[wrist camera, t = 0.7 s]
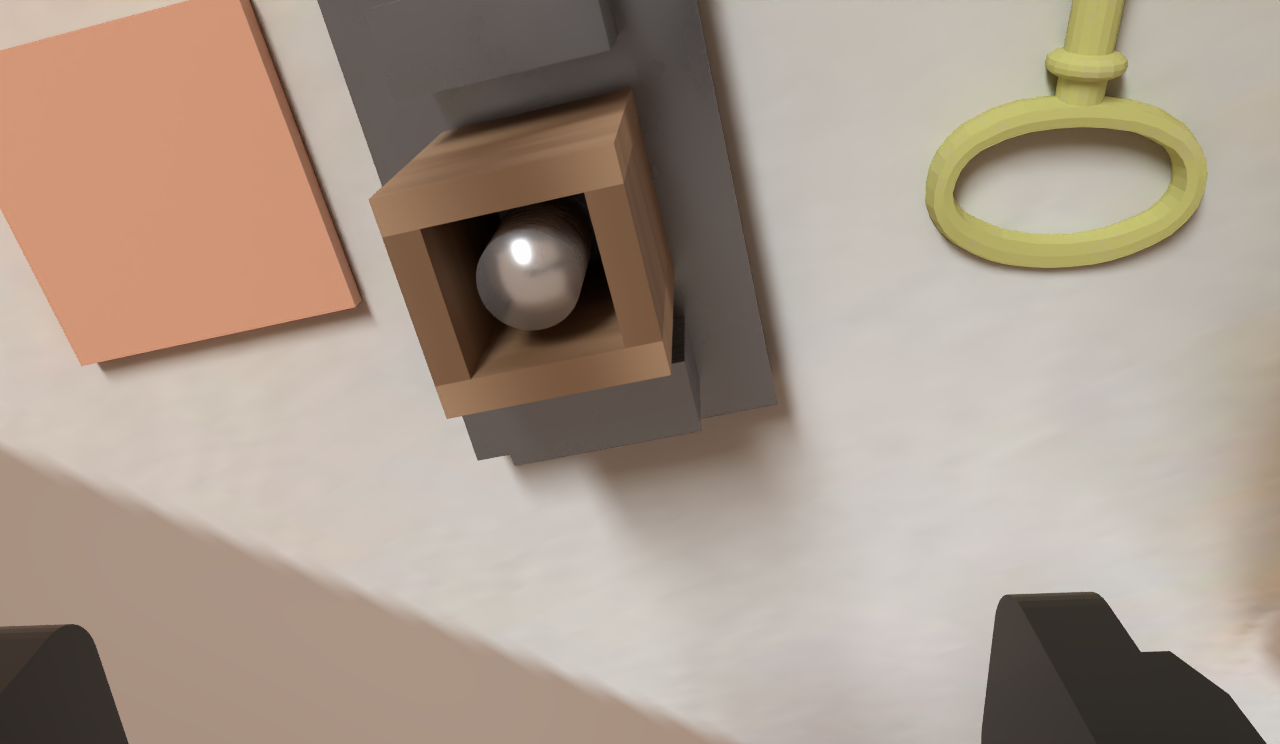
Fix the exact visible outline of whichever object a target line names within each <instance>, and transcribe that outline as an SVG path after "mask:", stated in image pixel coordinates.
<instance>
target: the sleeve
mask: <svg viewBox="0 0 1280 744" xmlns="http://www.w3.org/2000/svg"><path fill="white" fill-rule="evenodd" d="M579 193H584V194H585V198H586V202H587V206H588V210H589V213H590V217H591V221H592V225H593V228H594V232H595V236H596V240H597V244H598V247H599V251H600V255H601V259H600V260H595V261H590V262H589V263H588V266H587V270H586V274H585V277H584V281H583V284H582V288H581V291H580V295H579V298H578V301H577V303H576V305H575V307H574V309H573V310H572V311H571V313H570V314H569V315H568V316H567V317H566V318H565V319H564V320H562V321H561V322H559V323H558V324H556V325H554V326H552V327H549V328H546V329H542V330H522V329H517V328H514V327H511V326H509V325H507V324H505V323H503V322H501V321H500V320H498V319H497V318H496V317H495V316H493V315H492V314H491V313H490V312H489V310H488V309H487V308H486V307H485V305H484V304H483V302H482V300H481V298H480V295H479V293H478V289H477V284H476V271H477V266H478V263H479V260H480V258H481V256H482V254H483V252H484V250H485V249H486V247H487V245H488V244H489V242H490V240H491V239H492V237H493V235H494V234H495V232H496V230H497V229H498V227H499V225H500V223H501V220H500V217H499V213H498V212H499V211H503V210H508V209H512V208H516V207H521V206H525V205H530V204H534V203H539V202H543V201H548V200H552V199H557V198H561V197H566V196H570V195H575V194H579ZM369 202H370V205H371V207H372V210H373V213H374V216H375V219H376V221H377V224H378V227H379V230H380V233H381V235H382V238H383V241H384V244H385V247H386V249H387V252H388V255H389V258H390V261H391V263H392V266H393V269H394V272H395V275H396V278H397V280H398V283H399V286H400V289H401V292H402V294H403V297H404V300H405V303H406V306H407V308H408V311H409V314H410V317H411V320H412V322H413V325H414V328H415V331H416V334H417V336H418V339H419V342H420V345H421V348H422V350H423V353H424V356H425V359H426V362H427V365H428V367H429V370H430V373H431V376H432V379H433V381H434V384H435V387H436V390H437V393H438V395H439V398H440V401H441V404H442V407H443V409H444V412H445V415H446V418H447V419H449V418H454V417H459V416H464V415H469V414H474V413H479V412H484V411H489V410H495V409H500V408H505V407H510V406H515V405H520V404H525V403H530V402H536V401H541V400H546V399H551V398H556V397H561V396H566V395H571V394H576V393H582V392H587V391H592V390H597V389H602V388H607V387H612V386H617V385H622V384H628V383H633V382H638V381H643V380H648V379H653V378H658V377H663V376H669V375H671V360H672V331H673V303H674V274H675V272H674V268H673V264H672V260H671V255H670V251H669V247H668V242H667V238H666V234H665V230H664V225H663V221H662V217H661V212H660V208H659V204H658V200H657V195H656V191H655V187H654V183H653V178H652V174H651V170H650V165H649V161H648V157H647V153H646V148H645V144H644V140H643V135H642V131H641V127H640V123H639V118H638V114H637V110H636V106H635V101H634V97H633V93H632V88H627V89H622V90H618V91H614V92H610V93H605V94H601V95H597V96H593V97H589V98H584V99H580V100H576V101H572V102H567V103H563V104H559V105H555V106H551V107H546V108H542V109H538V110H534V111H530V112H525V113H521V114H517V115H513V116H508V117H504V118H500V119H496V120H492V121H487V122H483V123H479V124H475V125H470V126H466V127H462V128H458V129H454V130H449V131H445V132H442V133H441V134H440V135H439V136H438V137H436V138H435V139H434V140H433V141H432V142H431V143H430V144H429V145H428V146H427V147H425V148H424V149H423V150H422V151H421V152H420V153H419V154H418V155H417V156H416V157H415V158H413V159H412V160H411V161H410V162H409V163H408V164H407V165H406V166H405V167H404V168H403V169H401V170H400V171H399V172H398V173H397V174H396V175H395V176H394V177H393V178H392V179H390V180H389V181H388V182H387V183H386V184H385V185H384V186H383V187H382V188H381V189H380V190H378V191H377V192H376V193H375V194H374V195H373V196H372V197H371V198H370V199H369Z"/></svg>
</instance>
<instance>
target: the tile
mask: <svg viewBox="0 0 1280 744" xmlns="http://www.w3.org/2000/svg"><path fill="white" fill-rule="evenodd" d="M0 209H1V211H2V213H3V214H4V216H5V218H6V220H7V222H8V224H9V226H10V228H11V230H12V232H13V234H14V236H15V238H16V240H17V242H18V244H19V246H20V248H21V249H22V251H23V253H24V255H25V257H26V259H27V261H28V263H29V265H30V267H31V269H32V271H33V273H34V275H35V277H36V279H37V281H38V282H39V284H40V286H41V288H42V290H43V292H44V294H45V296H46V298H47V300H48V302H49V304H50V306H51V308H52V310H53V312H54V314H55V316H56V317H57V319H58V321H59V323H60V325H61V327H62V329H63V331H64V333H65V335H66V337H67V339H68V341H69V343H70V345H71V347H72V349H73V350H74V352H75V354H76V356H77V358H78V360H79V362H80V364H81V366H84V365H89V364H93V363H98V362H103V361H107V360H112V359H117V358H121V357H126V356H131V355H135V354H140V353H145V352H149V351H154V350H159V349H163V348H168V347H173V346H177V345H182V344H187V343H191V342H196V341H201V340H205V339H210V338H215V337H219V336H224V335H229V334H233V333H238V332H243V331H247V330H252V329H257V328H261V327H266V326H271V325H275V324H280V323H285V322H289V321H294V320H299V319H303V318H308V317H313V316H317V315H322V314H327V313H331V312H336V311H341V310H345V309H350V308H355V307H356V306H357V305H358V304H359V303H360V302H361V300H362V299H361V296H360V294H359V291H358V288H357V286H356V283H355V280H354V278H353V275H352V272H351V270H350V267H349V264H348V262H347V259H346V256H345V254H344V251H343V248H342V246H341V243H340V241H339V238H338V235H337V233H336V230H335V227H334V225H333V222H332V219H331V217H330V214H329V211H328V209H327V206H326V203H325V201H324V198H323V195H322V193H321V190H320V187H319V185H318V182H317V179H316V177H315V174H314V171H313V169H312V166H311V163H310V161H309V158H308V155H307V153H306V150H305V147H304V145H303V142H302V139H301V137H300V134H299V131H298V129H297V126H296V123H295V121H294V118H293V115H292V113H291V110H290V107H289V105H288V102H287V99H286V97H285V94H284V91H283V89H282V86H281V83H280V81H279V78H278V75H277V73H276V70H275V67H274V65H273V62H272V59H271V57H270V54H269V51H268V49H267V46H266V43H265V41H264V38H263V35H262V33H261V30H260V27H259V25H258V22H257V19H256V17H255V14H254V11H253V9H252V6H251V3H250V1H249V0H189V1H186V2H182V3H178V4H174V5H171V6H167V7H163V8H159V9H155V10H152V11H148V12H144V13H140V14H137V15H133V16H129V17H125V18H122V19H118V20H114V21H110V22H107V23H103V24H99V25H95V26H92V27H88V28H84V29H80V30H76V31H73V32H69V33H65V34H61V35H58V36H54V37H50V38H46V39H43V40H39V41H35V42H31V43H28V44H24V45H20V46H16V47H13V48H9V49H5V50H1V51H0Z"/></svg>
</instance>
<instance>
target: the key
mask: <svg viewBox="0 0 1280 744" xmlns="http://www.w3.org/2000/svg"><path fill="white" fill-rule="evenodd" d="M1124 3H1125V0H1073V2H1072V7H1071V13H1070V18H1069V23H1068V29H1067V34H1066V39H1065V44H1064V47H1062V48H1058V49H1056V50H1054V51H1053V52H1051V53H1049V54H1048V55H1047V58H1046V68H1047V70H1049V71H1050V72H1051V73H1052V74H1054V75H1056V76H1058V81H1057V87H1056V92H1055V95H1053V96H1043V97H1036V98H1030V99H1023V100H1017V101H1013V102H1010V103H1007V104H1004V105H1000V106H997V107H994V108H991V109H989V110H987V111H985V112H983V113H982V114H980V115H978V116H976V117H974V118H972V119H970V120H968V121H967V122H965V123H963V124H961V125H960V126H959V127H958V128H957V129H956V130H955V131H954V132H953V133H951V134H950V135H949V136H948V137H947V139H946V140H945V141H944V142H943V144H942V145H941V146H940V147H939V149H938V150H937V152H936V154H935V156H934V158H933V160H932V162H931V164H930V167H929V172H928V177H927V181H926V200H925V202H926V205H927V208H928V212H929V215H930V218H931V219H932V221H933V222H934V224H935V225H936V227H937V228H938V230H939V232H940V233H942V234H943V235H944V236H945V237H946V238H947V239H948V240H950V241H951V242H952V243H954V244H955V245H957V246H959V247H960V248H962V249H964V250H965V251H967V252H969V253H971V254H974V255H976V256H978V257H981V258H983V259H985V260H989V261H993V262H996V263H1000V264H1006V265H1014V266H1021V267H1037V268H1058V267H1074V266H1083V265H1091V264H1098V263H1102V262H1107V261H1112V260H1115V259H1118V258H1121V257H1124V256H1127V255H1130V254H1133V253H1135V252H1138V251H1140V250H1142V249H1145V248H1147V247H1149V246H1152V245H1154V244H1156V243H1158V242H1159V241H1161V240H1163V239H1165V238H1166V237H1168V236H1170V235H1172V234H1173V233H1174V232H1175V231H1176V230H1177V229H1178V228H1180V227H1181V226H1182V225H1183V224H1184V223H1185V222H1187V220H1188V219H1189V218H1190V217H1191V215H1192V214H1193V213H1194V212H1195V210H1196V209H1197V208H1198V206H1199V203H1200V201H1201V198H1202V196H1203V193H1204V190H1205V185H1206V180H1207V175H1208V174H1207V164H1206V158H1205V156H1204V153H1203V151H1202V149H1201V146H1200V145H1199V143H1198V142H1197V140H1196V139H1195V137H1194V136H1193V134H1192V133H1191V132H1190V130H1189V129H1188V127H1187V126H1186V125H1185V124H1184V123H1182V122H1181V121H1179V120H1178V119H1176V118H1175V117H1173V116H1171V115H1170V114H1168V113H1167V112H1165V111H1164V110H1162V109H1160V108H1158V107H1155V106H1151V105H1148V104H1145V103H1142V102H1139V101H1136V100H1130V99H1124V98H1116V97H1108V96H1105V91H1106V87H1107V82H1108V80H1111V79H1115V78H1117V77H1119V76H1121V75H1122V74H1123V73H1124V72H1125V71H1126V69H1127V67H1128V60H1127V59H1126V57H1125V56H1124V55H1123V54H1122V53H1120V52H1117V51H1115V50H1114V49H1115V45H1116V40H1117V35H1118V31H1119V26H1120V21H1121V17H1122V12H1123V8H1124ZM1075 127H1092V128H1109V129H1117V130H1124V131H1130V132H1134V133H1137V134H1140V135H1143V136H1145V137H1146V138H1148V139H1150V140H1152V141H1154V142H1156V143H1158V144H1160V145H1162V146H1163V147H1164V148H1165V150H1166V151H1167V152H1168V154H1169V156H1170V159H1171V168H1172V173H1171V182H1170V184H1169V186H1168V188H1167V190H1166V192H1165V193H1164V194H1163V196H1162V197H1161V198H1160V200H1159V201H1157V202H1156V203H1155V204H1154V205H1153V206H1151V207H1150V208H1149V209H1148V210H1146V211H1144V212H1142V213H1140V214H1138V215H1136V216H1134V217H1131V218H1129V219H1126V220H1124V221H1122V222H1119V223H1116V224H1113V225H1110V226H1107V227H1105V228H1100V229H1095V230H1090V231H1085V232H1079V233H1073V234H1053V235H1050V234H1029V233H1023V232H1017V231H1012V230H1007V229H1002V228H999V227H997V226H994V225H991V224H989V223H986V222H984V221H982V220H980V219H978V218H975V217H973V216H972V215H970V214H968V213H967V212H965V211H963V209H962V208H961V207H960V206H959V205H958V204H957V202H956V200H955V198H954V195H953V191H954V187H955V184H956V181H957V179H958V177H959V174H960V172H961V170H962V169H963V168H964V167H965V165H966V164H967V163H968V162H969V160H971V159H972V158H973V157H974V156H975V155H977V154H978V153H979V152H980V151H982V150H984V149H987V148H989V147H991V146H993V145H995V144H997V143H1000V142H1002V141H1004V140H1006V139H1009V138H1013V137H1016V136H1019V135H1023V134H1026V133H1030V132H1037V131H1044V130H1051V129H1058V128H1075Z"/></svg>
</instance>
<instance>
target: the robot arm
mask: <svg viewBox="0 0 1280 744" xmlns="http://www.w3.org/2000/svg"><path fill="white" fill-rule="evenodd" d="M0 744H128V741H127V738H126V735H125V732H124V729H123V726H122V723H121V720H120V717H119V714H118V711H117V708H116V705H115V702H114V699H113V696H112V693H111V690H110V687H109V684H108V681H107V678H106V675H105V672H104V669H103V666H102V663H101V660H100V657H99V654H98V652H97V648H96V646H95V643H94V641H93V639H92V637H91V636H90V634H89V633H88V632H87V631H86V630H85V629H84V628H82V627H81V626H79V625H74V624H65V625H39V626H37V625H36V626H8V627H0ZM981 744H1266V742H1265V741H1264V740H1263V738H1262V737H1261V736H1260V735H1259V733H1258V732H1257V731H1256V729H1255V728H1254V727H1253V725H1252V724H1251V723H1250V721H1249V720H1248V719H1247V717H1246V716H1245V715H1244V714H1243V712H1242V711H1241V710H1240V708H1239V707H1238V706H1237V704H1236V703H1235V702H1234V700H1233V699H1232V698H1231V696H1230V695H1229V694H1228V693H1226V692H1225V691H1224V690H1222V689H1221V688H1219V687H1218V686H1217V685H1215V684H1214V683H1213V682H1211V681H1210V680H1209V679H1207V678H1206V677H1204V676H1203V675H1202V674H1200V673H1199V672H1198V671H1196V670H1195V669H1194V668H1192V667H1191V666H1189V665H1188V664H1187V663H1185V662H1184V661H1183V660H1181V659H1180V658H1179V657H1177V656H1176V655H1174V654H1173V653H1172V652H1170V651H1161V652H1140V650H1139V649H1138V647H1137V646H1136V644H1135V643H1134V641H1133V640H1132V639H1131V637H1130V636H1129V634H1128V633H1127V631H1126V630H1125V628H1124V627H1123V625H1122V624H1121V622H1120V621H1119V620H1118V618H1117V617H1116V615H1115V614H1114V612H1113V611H1112V609H1111V608H1110V606H1109V605H1108V604H1107V602H1106V601H1105V600H1104V599H1103V598H1102V597H1101V596H1100V595H1099V594H1097V593H1095V592H1071V593H1042V594H1013V595H1005V596H1003V597H1002V598H1001V599H1000V601H999V604H998V606H997V610H996V615H995V622H994V631H993V639H992V648H991V656H990V664H989V673H988V681H987V690H986V698H985V706H984V715H983V723H982V736H981Z"/></svg>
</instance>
